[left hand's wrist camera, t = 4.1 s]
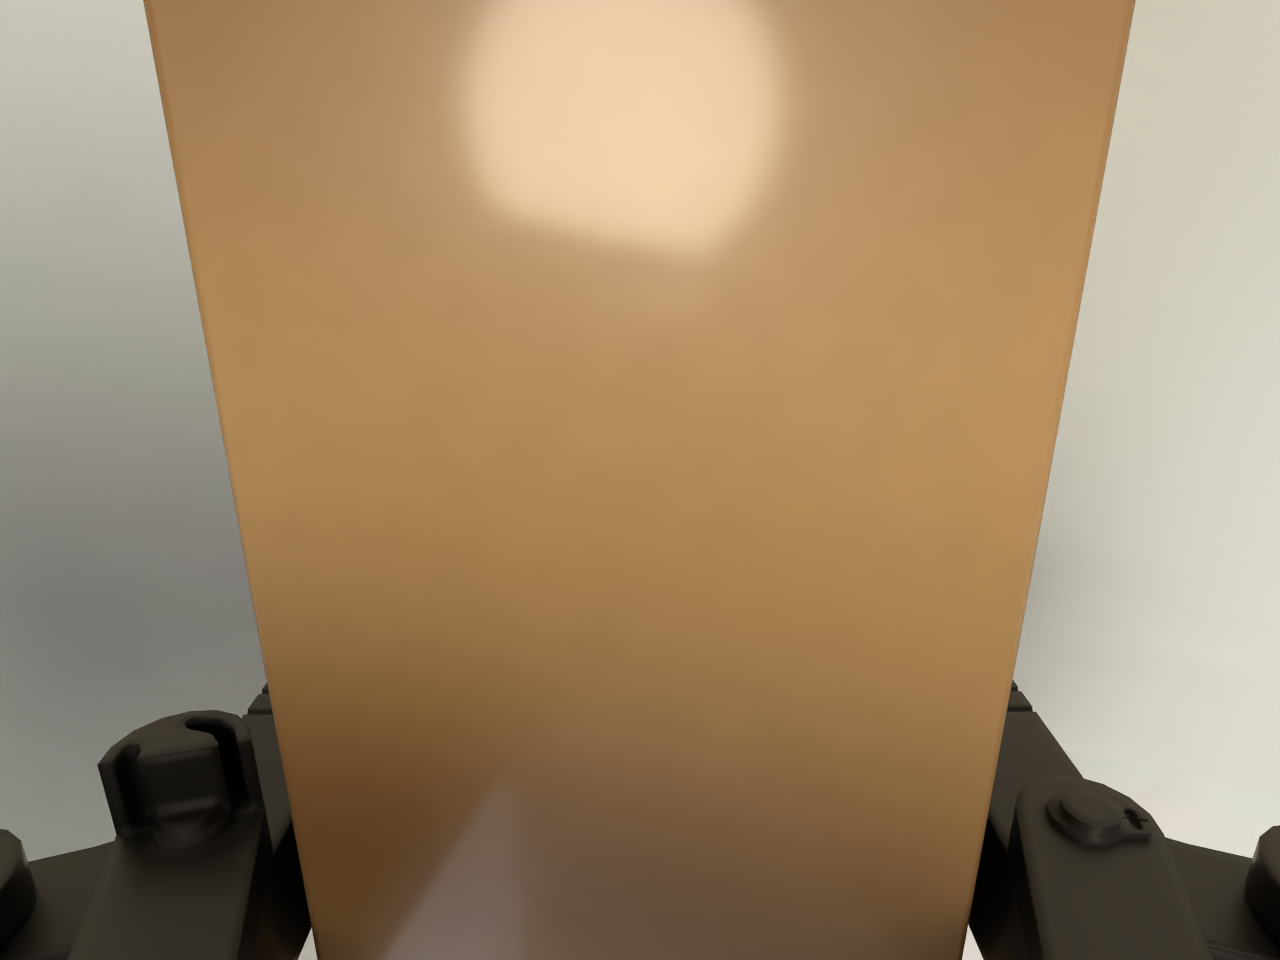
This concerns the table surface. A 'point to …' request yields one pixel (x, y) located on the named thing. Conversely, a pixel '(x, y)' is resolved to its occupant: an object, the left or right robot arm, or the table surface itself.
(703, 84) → the beam
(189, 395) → the table surface
